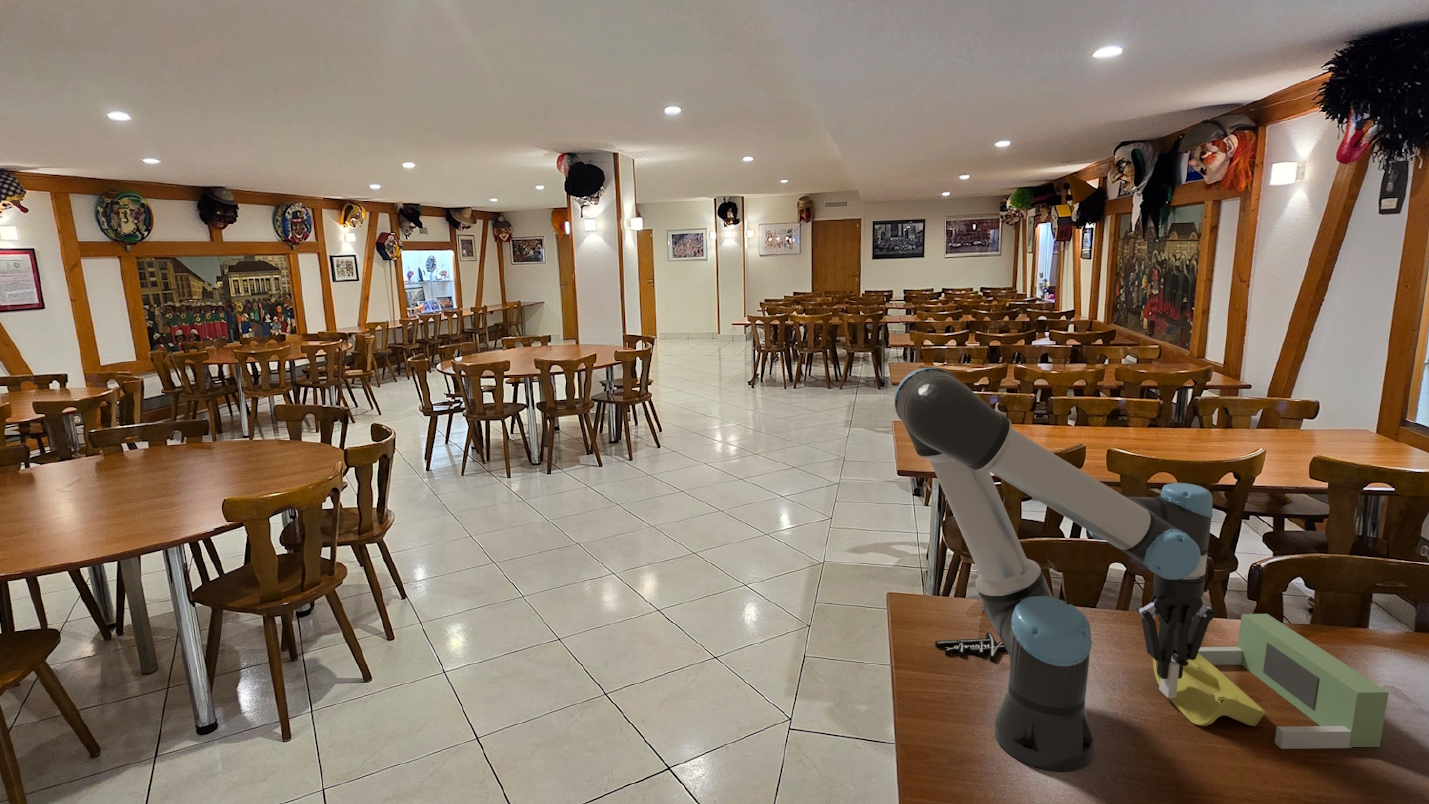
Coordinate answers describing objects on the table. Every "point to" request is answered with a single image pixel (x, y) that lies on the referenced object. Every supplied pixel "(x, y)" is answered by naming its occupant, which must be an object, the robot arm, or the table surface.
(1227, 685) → the plastic component
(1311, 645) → the green sign stand
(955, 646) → the nameplate
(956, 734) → the table surface
